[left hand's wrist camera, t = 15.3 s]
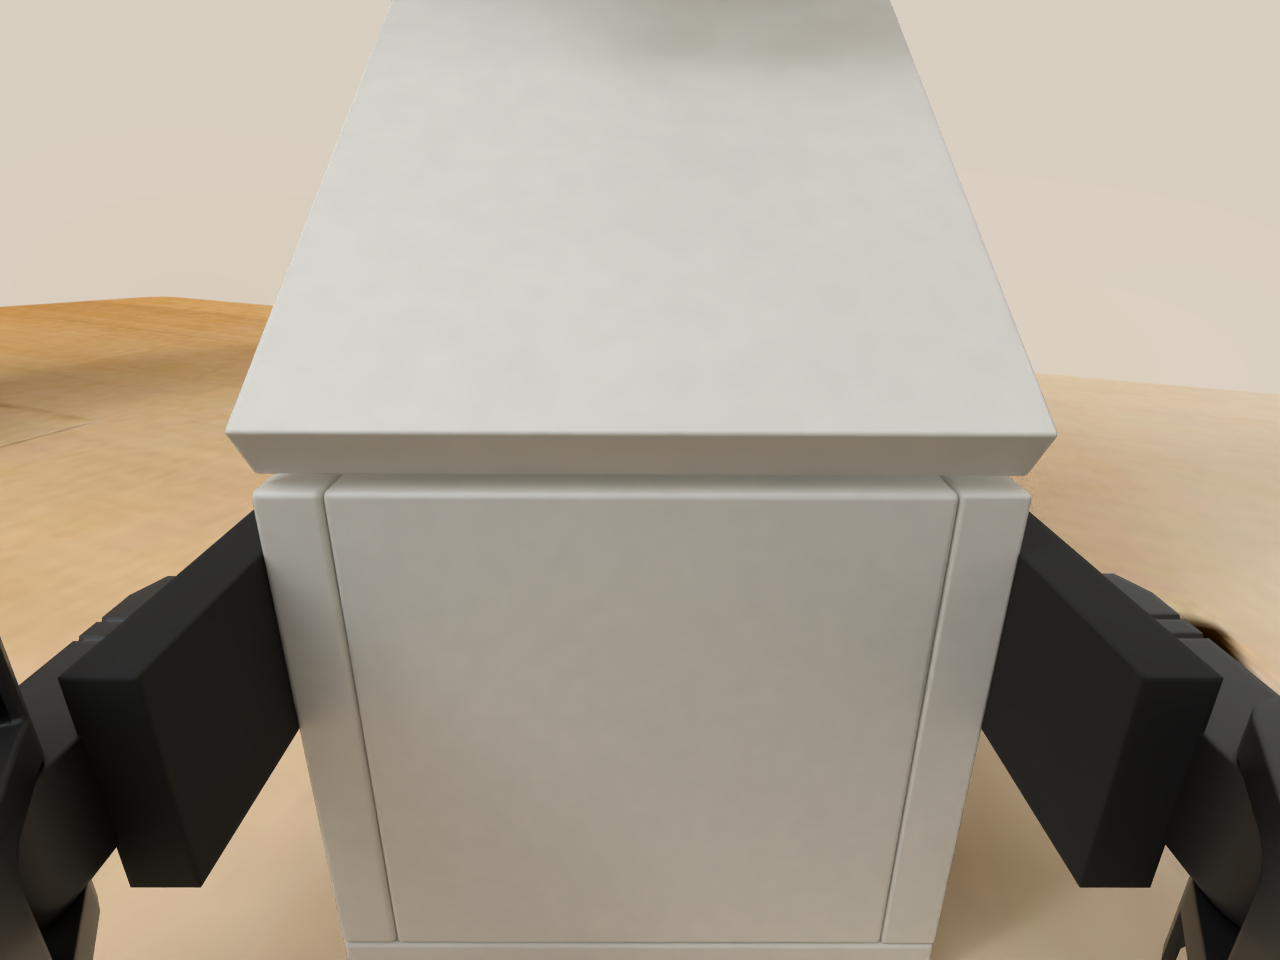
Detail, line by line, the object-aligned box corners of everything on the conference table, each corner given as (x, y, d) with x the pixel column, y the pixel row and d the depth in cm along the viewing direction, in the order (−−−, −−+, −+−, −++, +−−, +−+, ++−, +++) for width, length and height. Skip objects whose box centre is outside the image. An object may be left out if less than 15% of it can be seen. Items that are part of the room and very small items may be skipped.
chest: (503, 554, 26) (484, 300, 23) (774, 554, 26) (794, 302, 23) (349, 981, 12) (247, 492, 9) (927, 982, 12) (1034, 494, 9)
